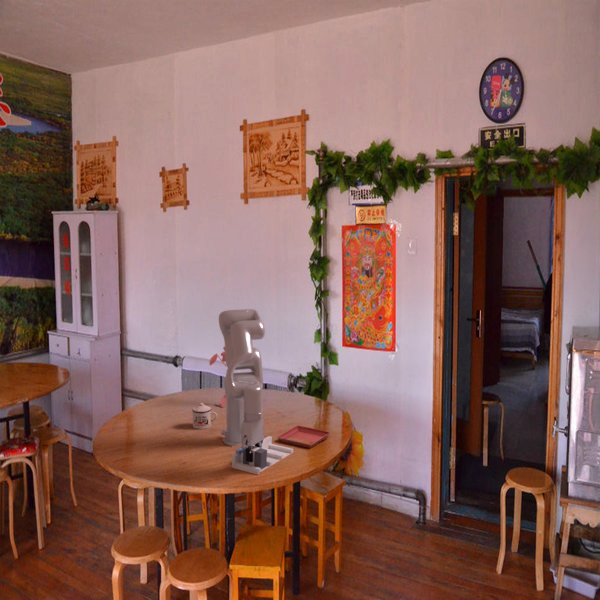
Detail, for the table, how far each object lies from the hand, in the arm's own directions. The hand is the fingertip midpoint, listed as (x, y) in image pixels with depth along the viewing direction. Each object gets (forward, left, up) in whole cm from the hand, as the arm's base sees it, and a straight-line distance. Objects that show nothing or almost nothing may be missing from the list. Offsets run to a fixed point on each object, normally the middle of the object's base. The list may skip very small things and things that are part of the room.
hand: (253, 458), depth 241 cm
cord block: (+1, 0, -3) cm, 3 cm away
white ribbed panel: (-1, +8, -3) cm, 9 cm away
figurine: (-55, +57, -4) cm, 79 cm away
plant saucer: (+2, +36, -4) cm, 36 cm away
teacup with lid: (-49, +27, -4) cm, 56 cm away
